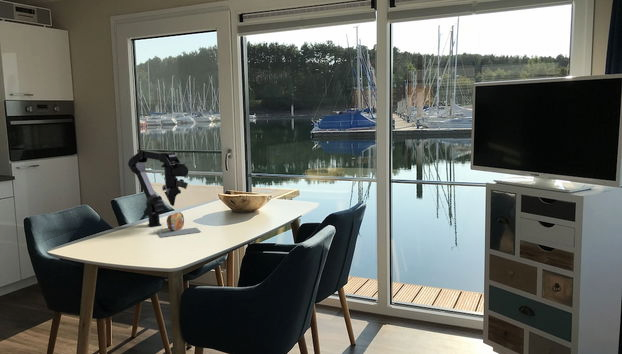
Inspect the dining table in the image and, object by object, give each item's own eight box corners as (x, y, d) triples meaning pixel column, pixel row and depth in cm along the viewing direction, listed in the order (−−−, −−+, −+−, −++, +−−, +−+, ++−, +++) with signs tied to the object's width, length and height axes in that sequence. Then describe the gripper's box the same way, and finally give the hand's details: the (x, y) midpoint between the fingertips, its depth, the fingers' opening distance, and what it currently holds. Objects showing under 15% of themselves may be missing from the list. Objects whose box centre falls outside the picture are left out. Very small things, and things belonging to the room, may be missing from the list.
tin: (172, 232, 270) (171, 215, 269) (166, 232, 271) (165, 215, 270) (185, 226, 285) (183, 211, 284) (179, 226, 285) (178, 211, 285)
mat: (157, 233, 272) (157, 232, 272) (196, 228, 280) (196, 227, 280) (160, 237, 262) (160, 236, 262) (201, 232, 270) (201, 231, 270)
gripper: (189, 176, 275) (191, 206, 277) (182, 173, 291) (183, 201, 293) (167, 178, 270) (169, 208, 272) (161, 174, 287) (163, 203, 289)
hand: (172, 205), depth 282 cm, fingers open, 3 cm apart
